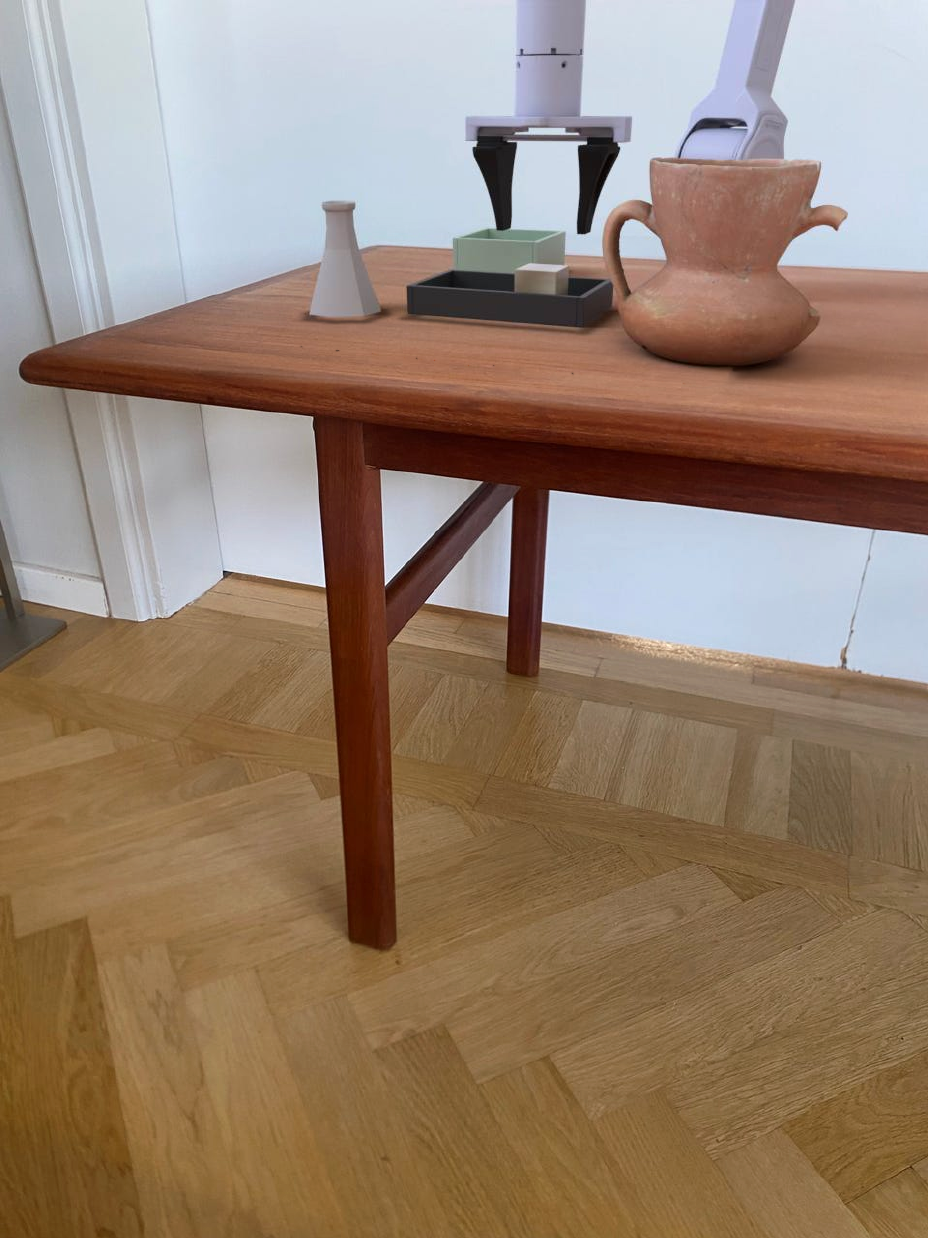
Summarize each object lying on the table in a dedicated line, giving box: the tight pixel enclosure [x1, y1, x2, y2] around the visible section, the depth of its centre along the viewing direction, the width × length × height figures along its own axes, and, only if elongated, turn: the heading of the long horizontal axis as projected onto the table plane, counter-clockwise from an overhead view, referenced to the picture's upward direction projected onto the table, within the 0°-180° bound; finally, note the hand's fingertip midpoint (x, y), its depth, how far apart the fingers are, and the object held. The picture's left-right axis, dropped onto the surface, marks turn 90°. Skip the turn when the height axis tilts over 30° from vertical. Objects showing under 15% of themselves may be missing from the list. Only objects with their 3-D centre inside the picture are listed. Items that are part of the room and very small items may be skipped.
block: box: [514, 263, 570, 296], centre depth 87 cm, size 4×4×4 cm
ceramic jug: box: [601, 156, 849, 367], centre depth 71 cm, size 18×14×14 cm
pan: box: [405, 268, 614, 329], centre depth 88 cm, size 17×10×3 cm, turn 67°
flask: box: [309, 200, 382, 318], centre depth 87 cm, size 7×7×10 cm
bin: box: [452, 227, 567, 273], centre depth 108 cm, size 10×10×4 cm
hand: (543, 231), depth 84 cm, fingers open, 7 cm apart
